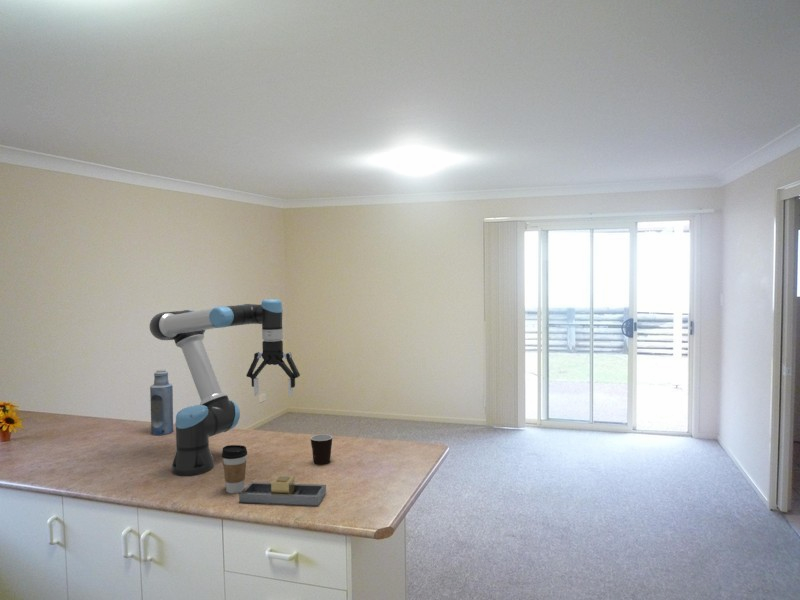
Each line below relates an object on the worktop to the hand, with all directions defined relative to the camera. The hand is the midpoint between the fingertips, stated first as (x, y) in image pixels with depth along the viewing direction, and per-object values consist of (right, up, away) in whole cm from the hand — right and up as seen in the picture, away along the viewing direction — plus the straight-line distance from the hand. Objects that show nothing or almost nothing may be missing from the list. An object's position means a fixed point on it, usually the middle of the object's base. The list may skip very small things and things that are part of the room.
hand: (273, 395), depth 201 cm
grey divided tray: (+9, -30, -25) cm, 40 cm away
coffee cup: (-9, -30, -18) cm, 36 cm away
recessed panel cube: (+9, -29, -25) cm, 40 cm away
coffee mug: (+17, -28, +11) cm, 35 cm away
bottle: (-65, -27, +51) cm, 88 cm away
